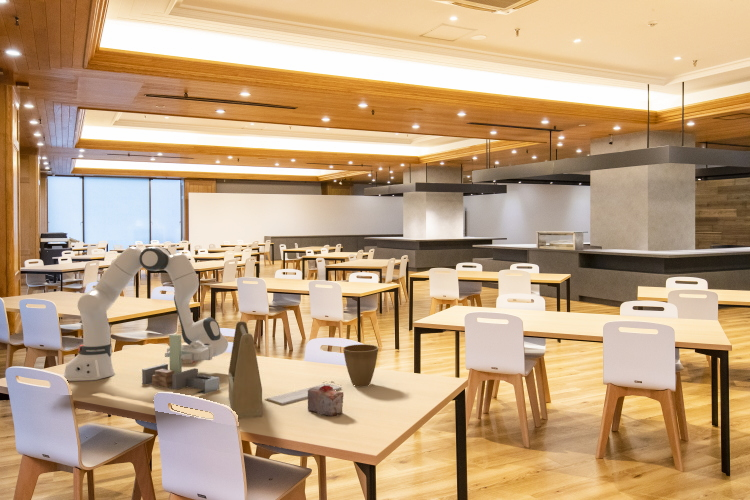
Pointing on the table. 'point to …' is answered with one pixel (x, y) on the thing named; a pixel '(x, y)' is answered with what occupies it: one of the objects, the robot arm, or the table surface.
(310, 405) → the food item
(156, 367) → the offcut rack
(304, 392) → the baseboard molding
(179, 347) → the tall panel
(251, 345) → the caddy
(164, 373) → the offcut stack
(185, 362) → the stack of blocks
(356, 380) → the plant pot
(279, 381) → the table surface
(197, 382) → the steel holder
